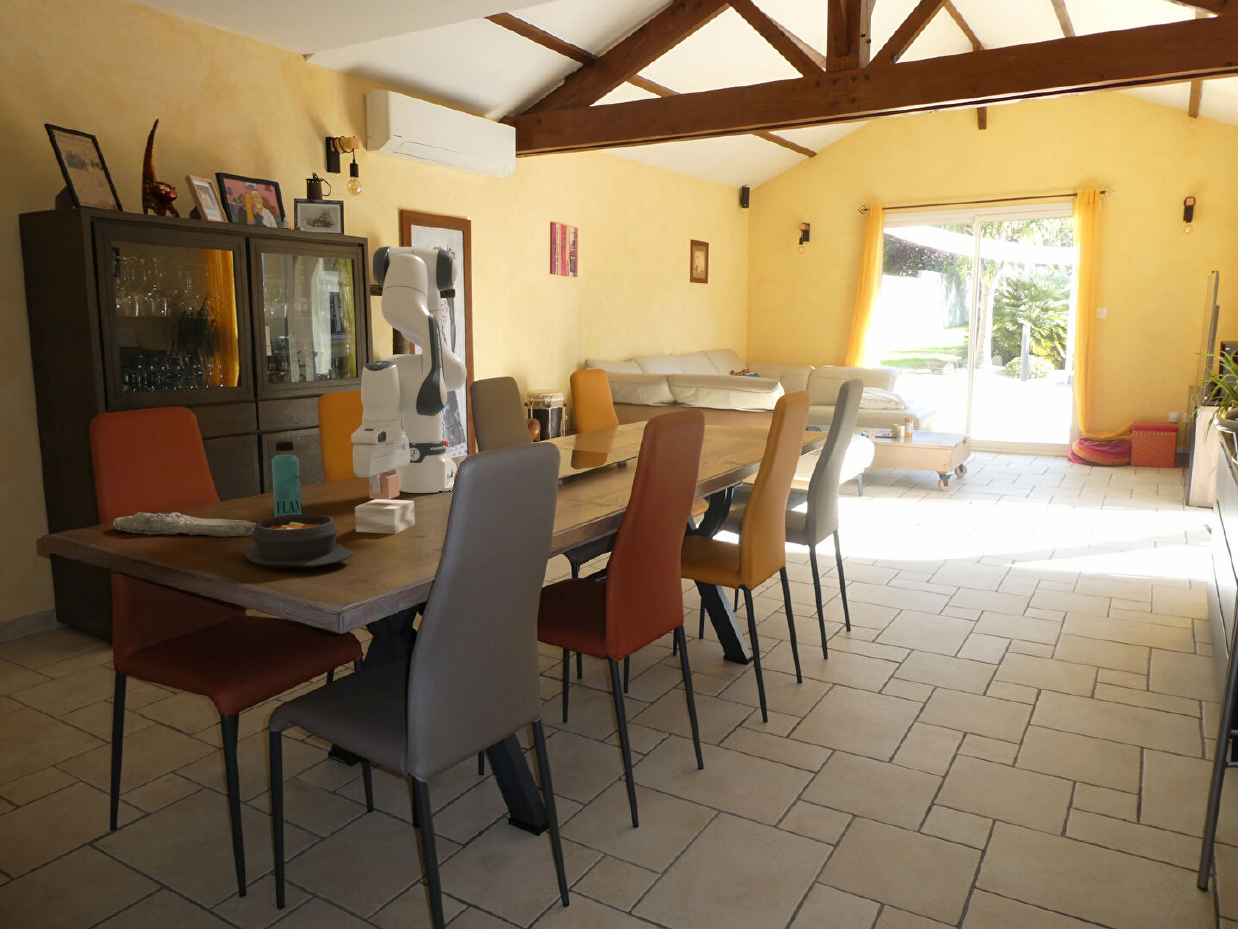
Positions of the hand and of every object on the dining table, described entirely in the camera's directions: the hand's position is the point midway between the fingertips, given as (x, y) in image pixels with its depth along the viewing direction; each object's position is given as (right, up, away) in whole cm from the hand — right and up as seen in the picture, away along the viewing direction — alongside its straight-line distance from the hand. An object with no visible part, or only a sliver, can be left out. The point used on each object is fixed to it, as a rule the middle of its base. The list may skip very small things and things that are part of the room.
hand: (384, 490), depth 212 cm
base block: (0, -9, +1) cm, 9 cm away
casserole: (-10, -14, -28) cm, 33 cm away
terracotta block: (0, -2, 0) cm, 2 cm away
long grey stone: (-45, -10, -3) cm, 47 cm away
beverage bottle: (-25, -8, +6) cm, 27 cm away
